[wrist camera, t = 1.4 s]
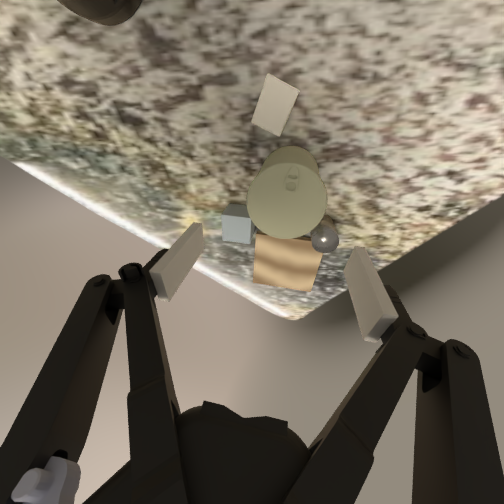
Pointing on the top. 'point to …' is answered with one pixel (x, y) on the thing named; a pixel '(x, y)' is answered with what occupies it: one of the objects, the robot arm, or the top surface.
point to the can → (287, 194)
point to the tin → (324, 236)
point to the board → (285, 262)
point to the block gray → (237, 224)
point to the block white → (274, 105)
